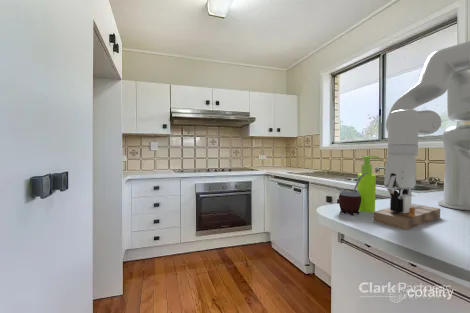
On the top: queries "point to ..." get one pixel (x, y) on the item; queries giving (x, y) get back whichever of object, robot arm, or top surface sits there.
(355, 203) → the mate gourd
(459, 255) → the top surface
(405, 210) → the fader knob
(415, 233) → the top surface
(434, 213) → the fader console
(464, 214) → the top surface
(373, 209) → the soap dispenser
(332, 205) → the top surface
